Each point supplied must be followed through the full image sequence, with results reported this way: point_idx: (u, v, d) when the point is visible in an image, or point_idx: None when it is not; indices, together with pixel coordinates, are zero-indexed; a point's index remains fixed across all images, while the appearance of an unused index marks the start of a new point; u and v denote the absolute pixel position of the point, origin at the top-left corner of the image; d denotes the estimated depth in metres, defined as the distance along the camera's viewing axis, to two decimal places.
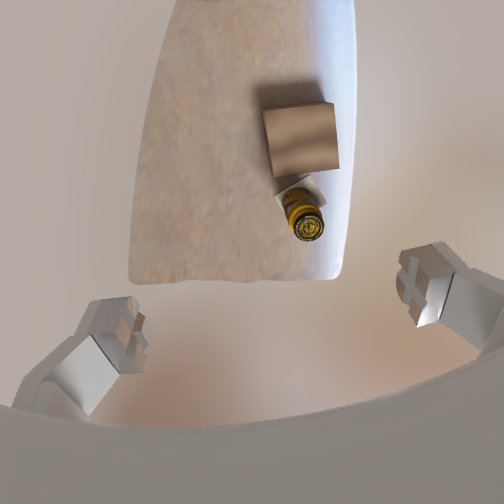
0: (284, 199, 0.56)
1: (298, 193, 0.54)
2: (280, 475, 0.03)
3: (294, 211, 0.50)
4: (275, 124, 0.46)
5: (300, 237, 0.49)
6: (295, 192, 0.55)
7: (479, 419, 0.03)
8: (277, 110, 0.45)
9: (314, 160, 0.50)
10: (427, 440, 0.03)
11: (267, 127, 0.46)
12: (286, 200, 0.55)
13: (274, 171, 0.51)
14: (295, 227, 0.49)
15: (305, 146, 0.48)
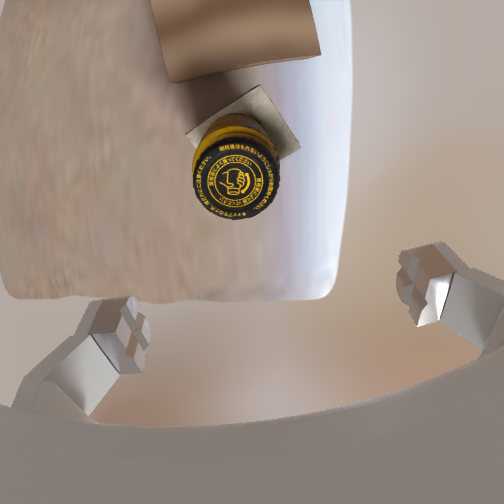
0: None
1: (229, 117, 0.23)
2: (280, 475, 0.03)
3: (202, 143, 0.18)
4: None
5: (213, 208, 0.18)
6: (224, 117, 0.23)
7: (479, 419, 0.03)
8: None
9: (260, 36, 0.18)
10: (428, 439, 0.03)
11: None
12: None
13: (169, 69, 0.19)
14: (195, 180, 0.17)
15: (234, 9, 0.17)
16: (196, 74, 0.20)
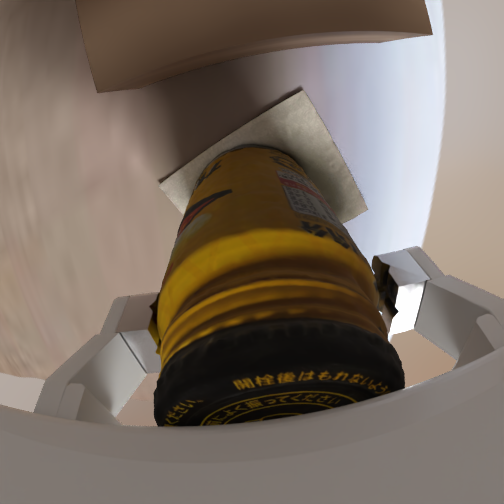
0: None
1: (245, 160, 0.11)
2: (280, 475, 0.03)
3: (175, 280, 0.06)
4: None
5: None
6: (233, 158, 0.11)
7: (479, 419, 0.03)
8: None
9: None
10: (427, 440, 0.03)
11: None
12: (191, 198, 0.12)
13: (94, 61, 0.07)
14: None
15: None
16: (155, 66, 0.08)
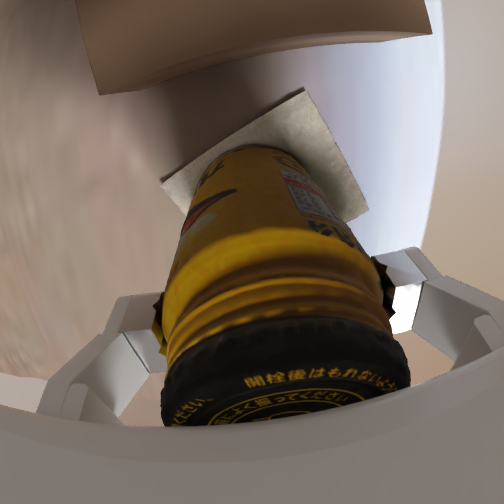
0: None
1: (248, 160, 0.11)
2: (280, 475, 0.03)
3: (182, 279, 0.06)
4: None
5: None
6: (236, 158, 0.11)
7: (479, 419, 0.03)
8: None
9: None
10: (428, 439, 0.03)
11: None
12: (194, 197, 0.12)
13: (96, 63, 0.07)
14: None
15: None
16: (157, 67, 0.08)
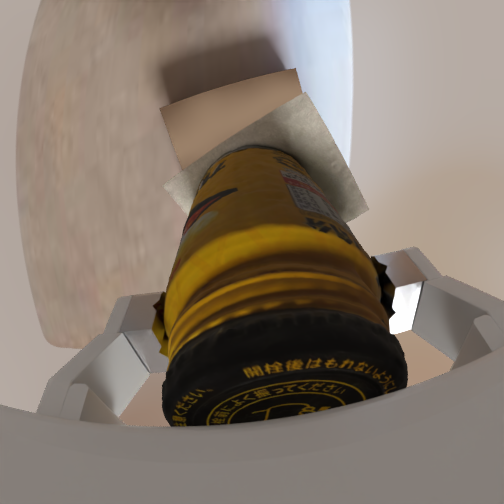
0: None
1: (249, 160, 0.11)
2: (280, 475, 0.03)
3: (183, 274, 0.07)
4: (186, 127, 0.24)
5: None
6: (237, 158, 0.11)
7: (479, 419, 0.03)
8: (185, 101, 0.22)
9: None
10: (428, 439, 0.03)
11: (172, 136, 0.24)
12: (195, 197, 0.12)
13: None
14: (170, 420, 0.05)
15: None
16: None
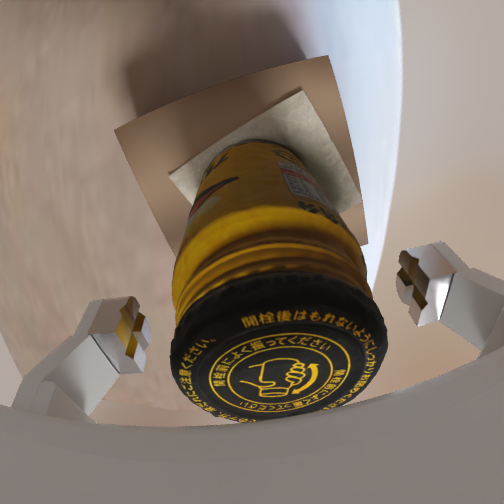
0: (200, 184, 0.14)
1: (249, 153, 0.12)
2: (280, 475, 0.03)
3: (190, 249, 0.08)
4: (156, 158, 0.15)
5: (224, 415, 0.07)
6: (238, 151, 0.12)
7: (479, 419, 0.03)
8: (151, 115, 0.14)
9: None
10: (427, 440, 0.03)
11: (137, 173, 0.15)
12: (200, 186, 0.13)
13: None
14: (177, 376, 0.06)
15: None
16: None
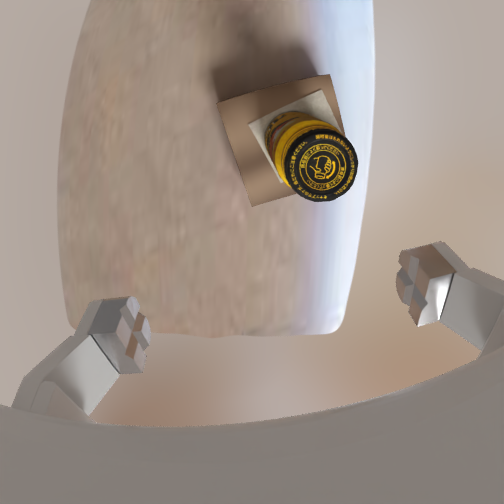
0: (269, 127, 0.27)
1: (298, 113, 0.25)
2: (280, 475, 0.03)
3: (289, 131, 0.20)
4: (239, 121, 0.28)
5: (300, 188, 0.20)
6: (292, 112, 0.25)
7: (479, 419, 0.03)
8: (238, 98, 0.27)
9: None
10: (427, 440, 0.03)
11: (227, 128, 0.28)
12: (273, 125, 0.25)
13: (250, 196, 0.32)
14: (289, 160, 0.19)
15: None
16: (270, 200, 0.33)
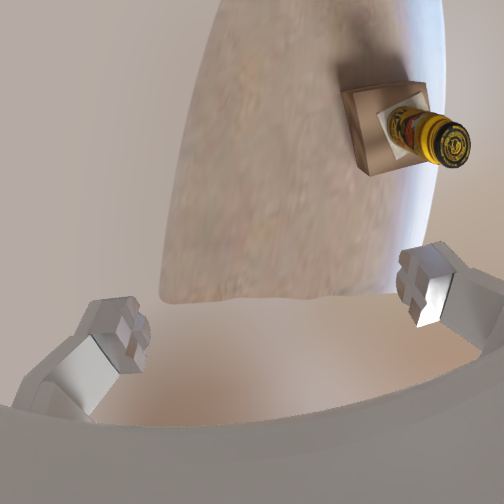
0: (395, 118, 0.32)
1: (416, 108, 0.30)
2: (280, 475, 0.03)
3: (429, 121, 0.26)
4: (367, 109, 0.33)
5: (444, 159, 0.25)
6: (411, 108, 0.31)
7: (479, 419, 0.03)
8: (368, 91, 0.32)
9: None
10: (427, 440, 0.03)
11: (358, 113, 0.34)
12: (401, 116, 0.31)
13: (369, 168, 0.38)
14: (440, 140, 0.24)
15: None
16: (382, 172, 0.38)
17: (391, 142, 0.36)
